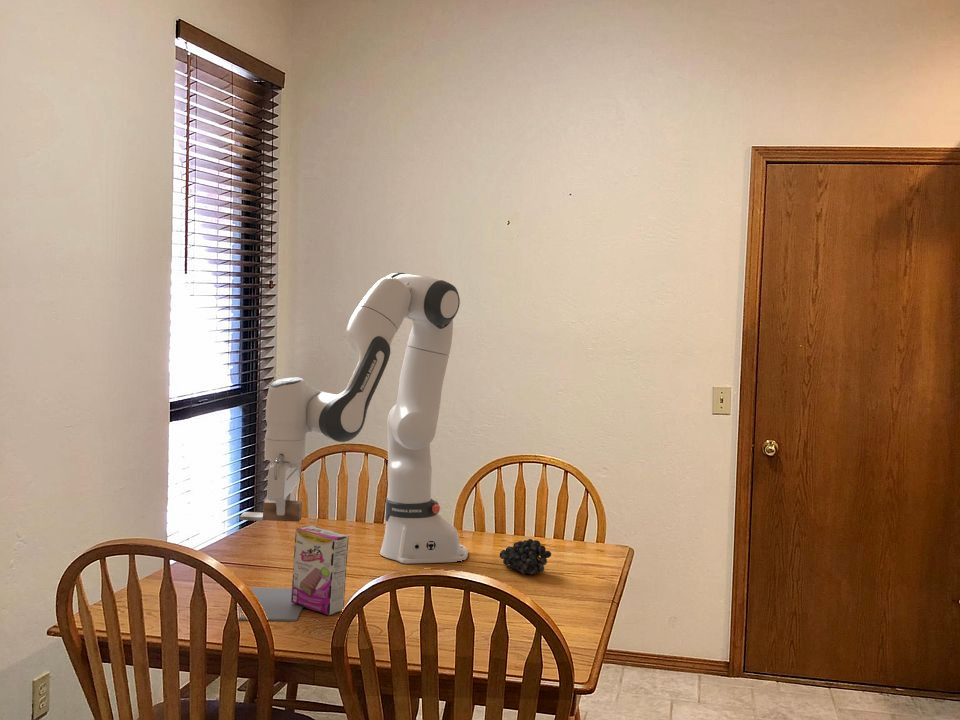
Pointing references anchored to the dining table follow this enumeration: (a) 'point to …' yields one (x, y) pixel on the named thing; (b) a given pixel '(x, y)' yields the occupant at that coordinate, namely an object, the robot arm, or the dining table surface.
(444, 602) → the dining table surface
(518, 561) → the fruit
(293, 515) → the block
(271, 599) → the mat
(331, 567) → the candy bar box
